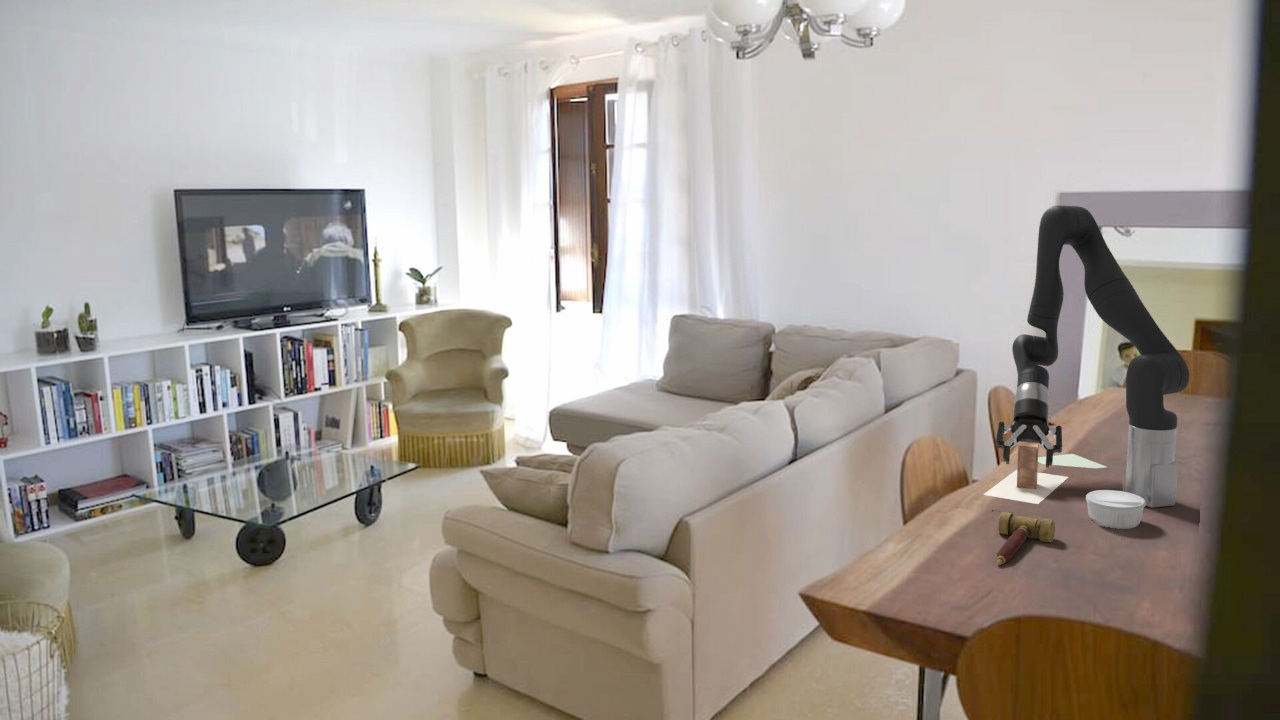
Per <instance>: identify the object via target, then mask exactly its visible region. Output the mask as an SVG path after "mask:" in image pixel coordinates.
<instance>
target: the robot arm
mask: <svg viewBox="0 0 1280 720" xmlns="http://www.w3.org/2000/svg"><path fill="white" fill-rule="evenodd" d="M1037 239H1038V240H1037V252H1036V253H1037V255H1036V269H1035V270H1036V272H1035V282H1034V286H1033V288H1034V289H1033V293H1032V297H1031V301H1030V304H1029V309H1028V313H1027V320H1026V322H1027V323H1028V325H1030V326H1031V327H1033V328H1036V329H1038V330H1041V331H1043V332H1044V333H1045V337H1043V336H1038V335H1031V334H1024V333H1023V334H1020V335H1017V337H1015V339H1014V341H1013V343H1012V346H1011V347H1012V348H1011V349H1012V356H1013V361H1014V365H1015V367H1016V371H1017V385H1016V392H1015V396H1014V408H1013V409H1014V410H1013V418H1012V419H1013V420H1012V424H1006V423H1005V422H1003V421H999V423H998V427H997V432H996V433H997V434H996V439H995V442H996V443H995V445H996V448H997V449H1002V450H1003V454H1002V458H1003V459H1002V460H1003V462H1004V463H1005V464H1006V465H1010V460H1011V459H1010V458H1011V449H1012V448H1014V447H1015V446H1017V445H1019V441H1023V442H1037V443H1039V445H1040V447H1041V448H1042V449H1044V450H1045V452H1046V453H1045V454H1046V455H1045V457H1046V464H1045V468H1046V469H1047V468H1048V469H1049V468H1050V466H1053V465H1052V464H1053V456H1054V454H1055V453H1058V454H1059V453H1062V452H1063V434H1062V432H1063V428H1062V426H1061V425H1056V426H1055V427H1050V426H1049V425H1048V424H1049V423H1048V421H1049V420H1048V419H1049V408H1050V404H1049V403H1050V398H1049V397H1050V395H1049V387H1050V386H1049V383H1050V382H1049V381H1050V374H1049V371H1048V370H1047V368H1045V367H1051V366H1052V365H1054V363H1055V362H1056V361H1057V359H1058V357H1059V345H1058V344H1059V342H1058V325H1059V319H1060V314H1061V311H1062V306H1063V303H1064V292H1065V291H1064V286H1063V281H1062V280H1063V279H1062V276H1061V271H1060V260H1061V259H1060V258H1061V255H1062V254H1061V253H1062V251H1063V248H1064V245H1066V246H1067V245H1068V246H1070V247H1072V249H1073V250H1074V251H1075V252H1076V254H1077V256H1078V258H1079V259H1080V261H1081V263H1082V265H1083V269H1084V278H1083V279H1084V281H1083V282H1084V284H1083V285H1084V291H1085V295H1086V296H1087V299H1088V301H1089V302H1090V304H1091V305H1092V307H1093V309H1094V311H1095V312H1096V314H1097V316H1098V317H1099V318H1100V319H1101V320H1102V321H1103V322H1104V323H1105V324H1106V325H1108V326H1109V327H1110V328H1111V329H1113V330H1114V331H1115V332H1117V333H1118V334H1120V335H1121V336H1123V337H1124V338H1125V339H1126V340H1128V341H1129V342H1130V343H1131V344H1132V345H1133V346H1134V347H1135V349H1136V350H1137V351H1138V353H1139V354H1140V355H1137V356H1135V357H1133V359H1132V360H1131V361H1130V362H1129V363H1128V367H1127V369H1126V373H1125V374H1126V377H1125V408H1126V412H1127V415H1128V418H1129V420H1128V423H1129V424H1128V436H1127V437H1128V438H1127V439H1128V440H1127V452H1126V454H1127V455H1126V470H1125V489H1124V492H1128V493H1132V494H1135V495H1138V496H1140V497H1142V498H1143V499H1144V500H1145V507H1149V508H1160V507H1162V508H1163V507H1169V506H1176V498H1177V497H1176V495H1177V484H1178V472H1179V471H1178V469H1179V464H1178V462H1175V459H1176V458H1175V457H1176V456H1175V455H1176V444H1177V428H1178V416H1177V414H1176V413H1175V412H1174V411H1171V410H1167V409H1166V408H1165V407H1164V396H1165V395H1172V394H1177V393H1180V392H1182V391H1183V390H1185V389H1186V388H1187V386H1188V385H1189V381H1190V370H1189V367H1188V364H1187V362H1186V361H1185V360H1184V358H1183V356H1182V355H1181V354H1180V352H1179V351H1178V350H1177V348H1176V347H1175V346H1174V345H1173V344H1172V342H1171V341H1170V340H1169V339H1168V337H1167V336H1166V335H1165V333H1164V332H1163V331H1162V329H1161V328H1160V327H1159V326H1158V324H1157V323H1156V320H1155V319H1154V318H1153V317H1152V315H1151V313H1150V312H1149V310H1148V309H1147V307H1146V305H1144V303H1143V301H1142V299H1141V298H1140V296H1139V294H1138V292H1137V291H1136V289H1135V288H1134V286H1133V284H1132V283H1131V281H1130V280H1129V279H1128V277H1127V276H1126V274H1125V273H1124V271H1123V269H1122V267H1120V265H1119V263H1118V262H1117V260H1116V258H1115V256H1114V254H1113V253H1112V252H1111V250H1110V248H1109V246H1108V244H1107V242H1106V240H1105V238H1104V237H1103V234H1102V232H1101V230H1100V228H1099V225H1098V223H1097V221H1096V220H1095V217H1094V215H1093V214H1092V213H1091V212H1090V211H1089V210H1088V209H1087V208H1085V207H1083V206H1079V205H1076V206H1075V205H1054V206H1050V207H1048V208H1047V209H1046V210H1045V211H1044V213H1043V214H1042V216H1041V218H1040V222H1039V228H1038V237H1037ZM1009 431H1011V433H1012V434H1011V435H1010V436H1009V438H1007V439H1006V441H1005V440H1004V435H1005V434H1007V433H1008V432H1009ZM1049 434H1051V436H1052V437H1053V438H1055V444H1052V443H1051V441H1049V439H1048V438H1049V437H1047V436H1048V435H1049Z"/></svg>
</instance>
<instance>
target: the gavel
mask: <svg viewBox="0 0 1280 720" xmlns="http://www.w3.org/2000/svg"><path fill="white" fill-rule="evenodd" d="M997 522H998V523H997V531H998V534H999V533H1001V534H1000V535H1003V534H1007V535H1006V536H1009V538H1008V539H1007V540H1006V541H1005V543H1004V544H1003V545H1002V546H1001V548H1000V549H999V550H998V551H997V553H996V564H997V565H999V566H1001V565H1004V564H1006V563H1009V562H1011V560H1012V558H1013V557H1014V556H1015V554H1016V553H1017V552H1018V551H1019V549H1020V548H1021V547H1022V545H1023V544H1024V542H1025V541H1026V539H1027V537H1028V539H1034V540H1036V539H1038V540H1039V541H1040V542H1042V541H1044V542H1043V543H1047V542H1051V541H1052V540H1054V539H1055V534H1056V523H1055V521H1054V520H1052V519H1046V518H1042V519H1041V520H1039V519H1038V518H1031V517H1026V516H1020V515H1016V516H1014V513H1011V512H1006V511H1002V512H1001V513H1000V515H999V517H998V521H997ZM1009 534H1010V535H1009ZM1053 538H1054V539H1053ZM1052 542H1053V541H1052ZM1052 542H1051V543H1052Z"/></svg>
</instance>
